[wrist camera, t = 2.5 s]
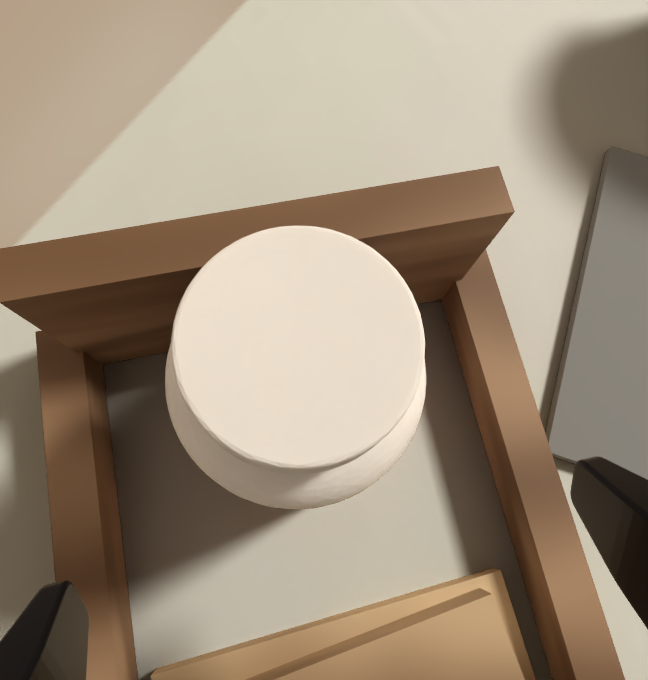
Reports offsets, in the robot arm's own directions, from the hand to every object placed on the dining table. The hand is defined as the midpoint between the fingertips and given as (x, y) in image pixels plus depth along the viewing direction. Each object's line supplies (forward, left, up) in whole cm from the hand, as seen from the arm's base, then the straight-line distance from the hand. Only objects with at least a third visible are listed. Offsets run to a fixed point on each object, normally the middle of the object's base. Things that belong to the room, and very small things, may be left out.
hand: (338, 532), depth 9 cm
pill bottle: (+3, +1, -11) cm, 11 cm away
